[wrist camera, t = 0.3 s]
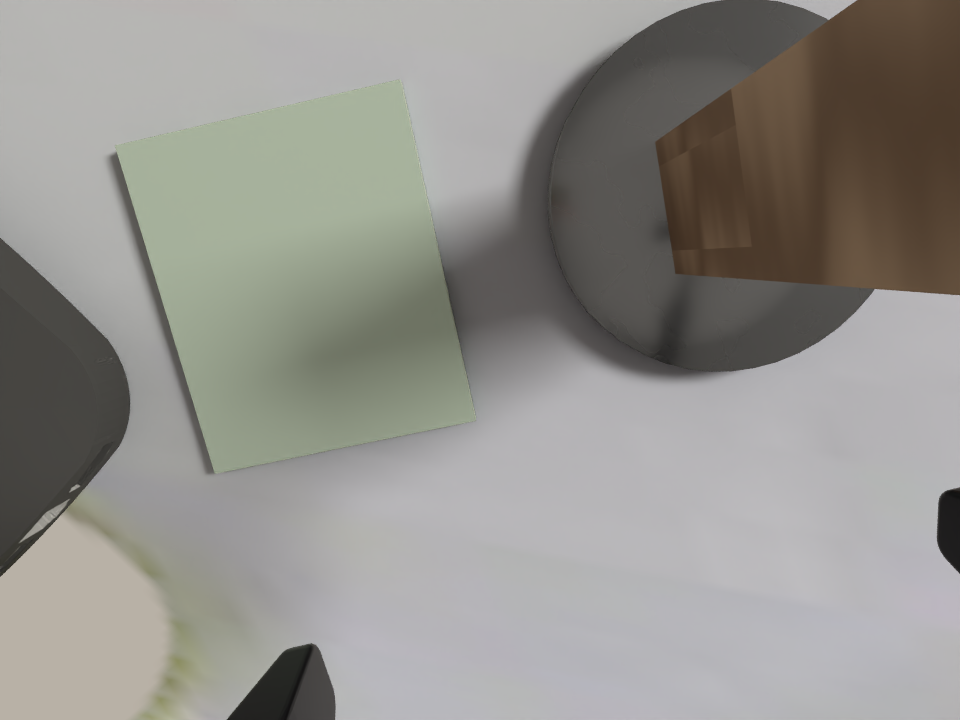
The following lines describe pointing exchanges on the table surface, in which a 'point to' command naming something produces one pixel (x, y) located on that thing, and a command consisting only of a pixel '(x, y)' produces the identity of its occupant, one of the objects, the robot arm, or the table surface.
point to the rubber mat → (301, 277)
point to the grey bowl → (640, 203)
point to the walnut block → (829, 159)
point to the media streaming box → (50, 404)
